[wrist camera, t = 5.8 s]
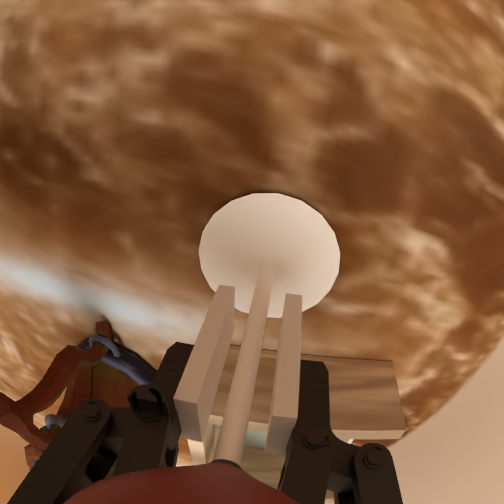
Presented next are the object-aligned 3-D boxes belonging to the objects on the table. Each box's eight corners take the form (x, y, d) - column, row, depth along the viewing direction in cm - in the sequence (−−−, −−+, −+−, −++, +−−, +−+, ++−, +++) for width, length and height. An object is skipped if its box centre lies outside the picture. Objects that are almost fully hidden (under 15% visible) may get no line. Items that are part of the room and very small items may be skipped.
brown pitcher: (49, 267, 24) (-63, 379, 11) (164, 297, 23) (64, 471, 10) (88, 392, 32) (34, 486, 19) (175, 421, 32) (133, 534, 18)
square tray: (206, 340, 24) (181, 408, 18) (391, 361, 23) (406, 429, 17) (212, 437, 32) (198, 486, 26) (341, 451, 30) (341, 501, 24)
